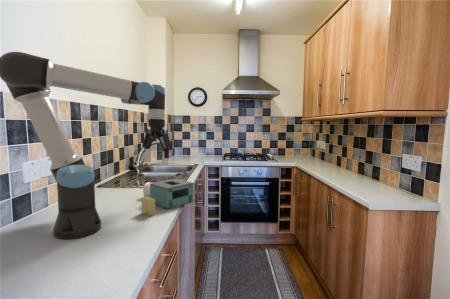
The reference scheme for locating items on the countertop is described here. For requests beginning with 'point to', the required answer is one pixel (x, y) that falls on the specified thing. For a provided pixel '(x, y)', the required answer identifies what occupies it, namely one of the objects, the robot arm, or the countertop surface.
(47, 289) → the countertop surface
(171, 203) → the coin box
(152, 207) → the gold block
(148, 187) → the mug
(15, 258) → the countertop surface
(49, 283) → the countertop surface
